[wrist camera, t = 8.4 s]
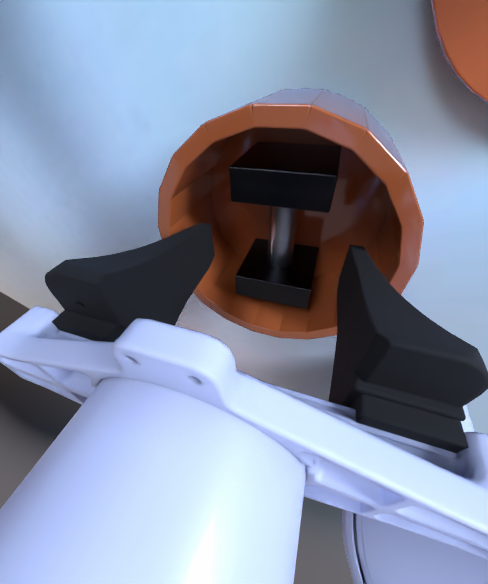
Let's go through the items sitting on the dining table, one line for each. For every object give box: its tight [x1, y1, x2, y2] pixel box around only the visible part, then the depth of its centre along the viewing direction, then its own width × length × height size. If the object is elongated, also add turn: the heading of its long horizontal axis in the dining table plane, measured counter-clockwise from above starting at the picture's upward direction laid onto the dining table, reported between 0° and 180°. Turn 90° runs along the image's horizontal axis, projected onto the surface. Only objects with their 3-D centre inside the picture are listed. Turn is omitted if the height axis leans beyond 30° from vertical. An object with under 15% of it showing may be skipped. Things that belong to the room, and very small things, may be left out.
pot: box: [158, 88, 424, 339], centre depth 14 cm, size 12×12×6 cm
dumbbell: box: [229, 142, 342, 309], centre depth 14 cm, size 8×5×5 cm, turn 2°
